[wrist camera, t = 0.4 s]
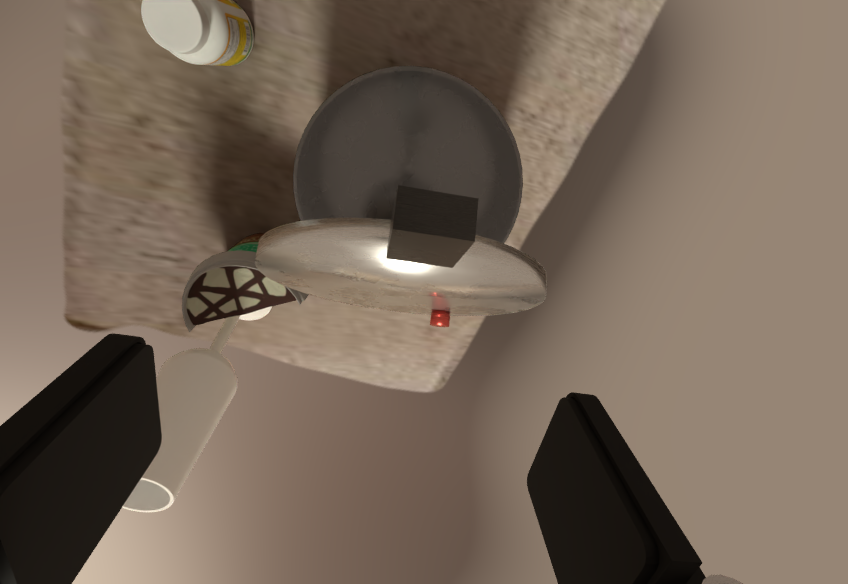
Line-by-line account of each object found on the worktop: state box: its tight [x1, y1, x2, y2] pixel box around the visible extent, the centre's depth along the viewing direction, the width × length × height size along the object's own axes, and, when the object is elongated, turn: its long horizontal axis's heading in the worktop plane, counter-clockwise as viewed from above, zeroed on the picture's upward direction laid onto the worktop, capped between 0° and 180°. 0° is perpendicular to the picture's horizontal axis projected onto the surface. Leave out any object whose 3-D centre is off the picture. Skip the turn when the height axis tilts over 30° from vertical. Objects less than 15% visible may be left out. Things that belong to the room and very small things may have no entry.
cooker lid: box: [255, 185, 547, 327], centre depth 27 cm, size 22×19×2 cm
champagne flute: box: [122, 306, 272, 512], centre depth 40 cm, size 7×7×24 cm
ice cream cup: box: [182, 233, 309, 332], centre depth 43 cm, size 12×6×10 cm, turn 104°
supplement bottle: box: [141, 0, 254, 66], centre depth 33 cm, size 5×5×10 cm
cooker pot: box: [293, 66, 523, 244], centre depth 39 cm, size 19×19×11 cm
